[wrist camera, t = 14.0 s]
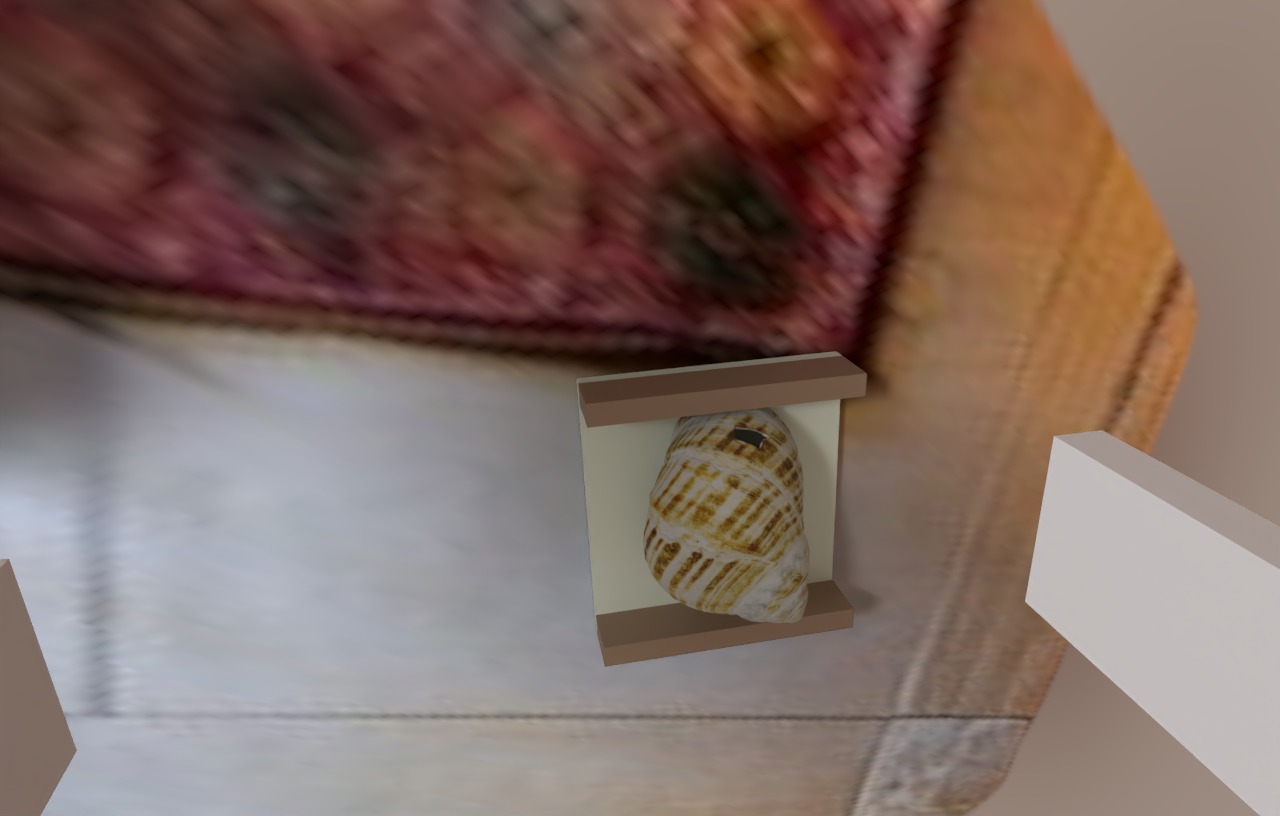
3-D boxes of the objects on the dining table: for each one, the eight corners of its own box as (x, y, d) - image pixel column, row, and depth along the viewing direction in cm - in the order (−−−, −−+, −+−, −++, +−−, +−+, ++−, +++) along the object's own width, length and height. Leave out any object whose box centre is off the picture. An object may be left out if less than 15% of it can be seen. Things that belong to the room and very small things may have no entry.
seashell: (733, 348, 42) (858, 483, 35) (783, 439, 49) (894, 565, 43) (572, 471, 42) (668, 627, 36) (646, 543, 49) (737, 683, 43)
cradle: (595, 624, 48) (604, 666, 44) (576, 378, 42) (585, 404, 39) (825, 589, 50) (852, 627, 47) (836, 351, 45) (866, 373, 41)
